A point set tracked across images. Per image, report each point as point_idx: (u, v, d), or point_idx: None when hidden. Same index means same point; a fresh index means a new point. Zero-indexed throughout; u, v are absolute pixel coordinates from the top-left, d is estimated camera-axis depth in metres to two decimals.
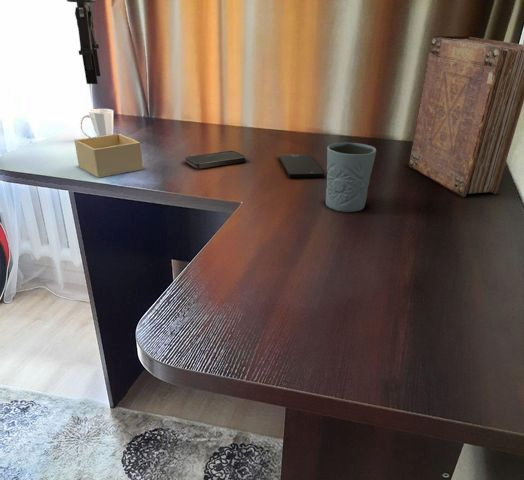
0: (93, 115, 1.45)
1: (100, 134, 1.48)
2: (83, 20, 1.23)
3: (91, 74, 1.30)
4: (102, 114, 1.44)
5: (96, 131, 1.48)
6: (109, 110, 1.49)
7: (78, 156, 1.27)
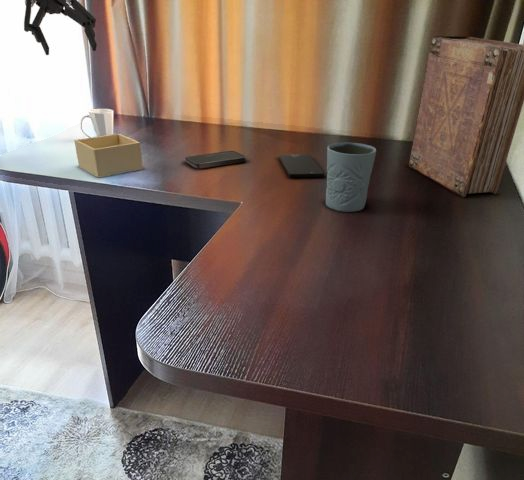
0: (93, 115, 1.45)
1: (100, 134, 1.48)
2: None
3: None
4: (102, 114, 1.44)
5: (96, 131, 1.48)
6: (109, 110, 1.49)
7: (78, 156, 1.27)
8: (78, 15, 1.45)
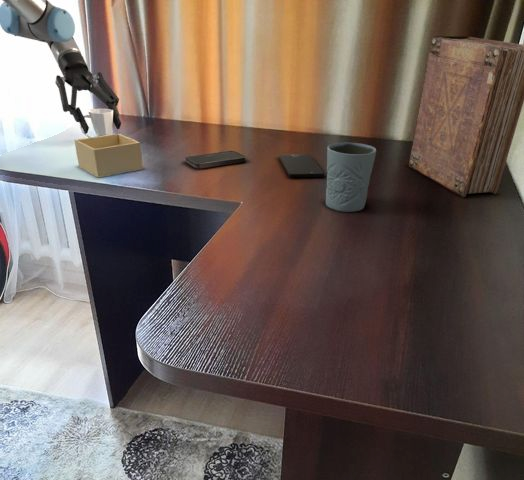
0: (93, 115, 1.45)
1: (100, 134, 1.48)
2: None
3: None
4: (102, 114, 1.44)
5: (96, 131, 1.48)
6: (109, 110, 1.49)
7: (78, 156, 1.27)
8: (103, 94, 1.48)
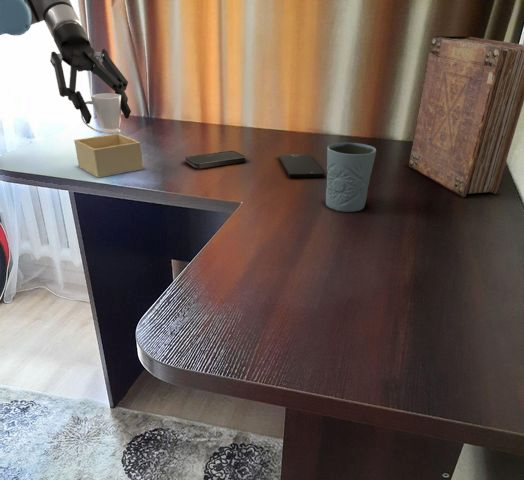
0: (96, 101, 1.18)
1: (105, 124, 1.21)
2: None
3: None
4: (107, 100, 1.18)
5: (100, 121, 1.22)
6: (116, 95, 1.22)
7: (78, 156, 1.27)
8: (109, 76, 1.21)
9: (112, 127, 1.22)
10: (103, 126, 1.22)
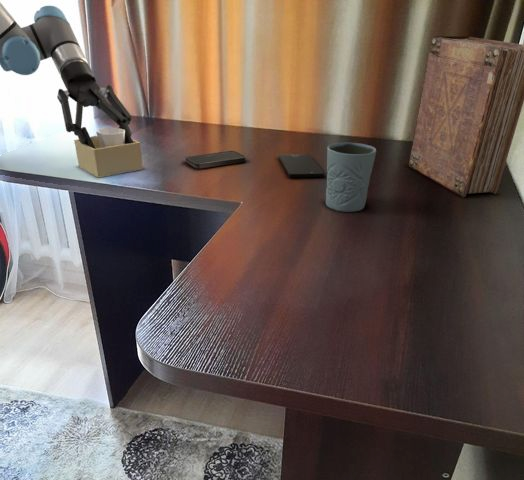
0: (101, 136, 1.23)
1: None
2: None
3: None
4: (112, 135, 1.22)
5: None
6: (120, 130, 1.26)
7: (78, 156, 1.27)
8: (113, 111, 1.26)
9: None
10: None
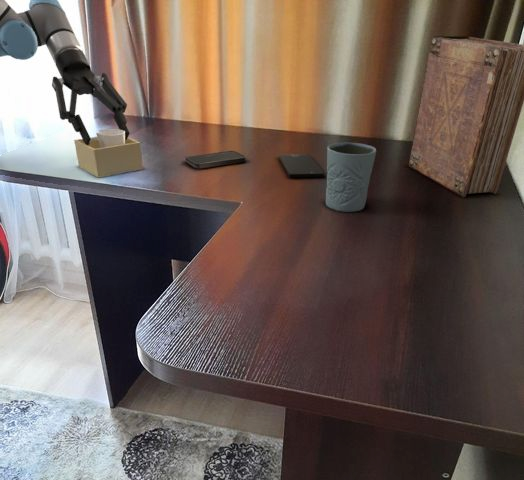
0: (101, 137, 1.23)
1: None
2: None
3: None
4: (112, 136, 1.22)
5: None
6: (120, 131, 1.27)
7: (78, 156, 1.27)
8: (108, 99, 1.26)
9: None
10: None
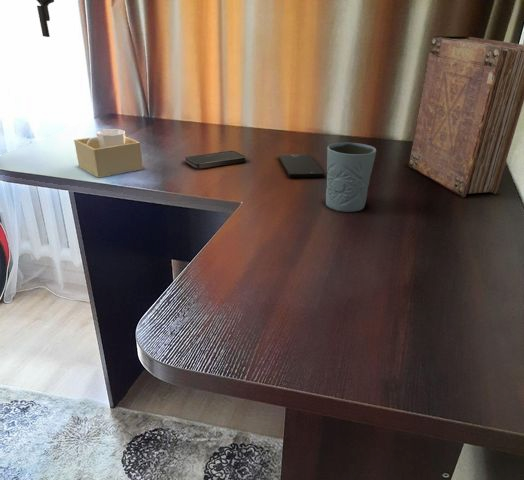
0: (101, 137, 1.23)
1: None
2: None
3: None
4: (112, 136, 1.22)
5: None
6: (120, 131, 1.27)
7: (78, 156, 1.27)
8: None
9: None
10: None
